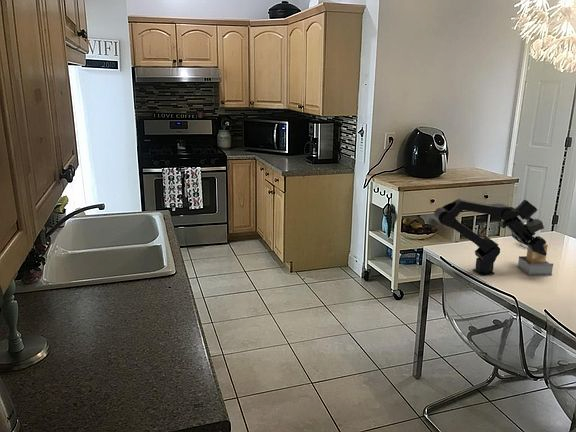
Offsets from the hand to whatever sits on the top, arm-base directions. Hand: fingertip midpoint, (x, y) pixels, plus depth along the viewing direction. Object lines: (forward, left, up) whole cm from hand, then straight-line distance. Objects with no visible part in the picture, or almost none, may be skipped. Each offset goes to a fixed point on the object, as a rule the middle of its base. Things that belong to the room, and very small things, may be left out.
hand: (540, 251), depth 205 cm
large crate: (-1, 0, -9) cm, 9 cm away
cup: (+19, +28, -9) cm, 35 cm away
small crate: (-1, 0, -8) cm, 8 cm away
